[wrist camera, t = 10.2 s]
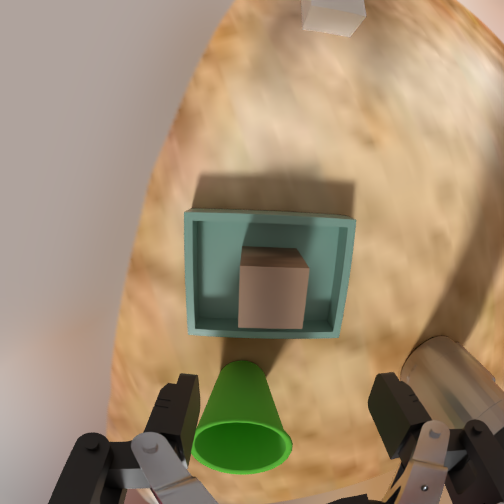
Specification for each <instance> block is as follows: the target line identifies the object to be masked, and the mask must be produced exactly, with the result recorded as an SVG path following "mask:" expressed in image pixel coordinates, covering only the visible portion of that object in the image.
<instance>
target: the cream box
mask: <svg viewBox="0 0 504 504" xmlns="http://www.w3.org/2000/svg"><path fill="white" fill-rule="evenodd" d="M301 14H302V30H309V31H316V32H323V33H329V34H334V35H340V36H345V37H351V36H352V34H353V33H354V32H355V30H356V29H357V28H358V27H359V25H360V24H361V23H362V22H363V20H364V19H365V18H366V10H365V4H364V0H301Z"/></svg>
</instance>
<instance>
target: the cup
mask: <svg viewBox="0 0 504 504" xmlns="http://www.w3.org/2000/svg"><path fill="white" fill-rule="evenodd" d="M292 445H293V443H292V440H291V438H290V436H289V435H288V434H287V433H286V432H285V431H284V429H283V426H282V423H281V421H280V418H279V415H278V412H277V409H276V406H275V404H274V401H273V398H272V395H271V392H270V389H269V386H268V383H267V380H266V377H265V374H264V372H263V371H262V369H261V368H260V367H258V366H257V365H256V364H254V363H252V362H249V361H235V362H231V363H230V364H228V365H226V366H225V367H224V368H223V369H222V370H221V372H220V374H219V376H218V379H217V381H216V383H215V386H214V388H213V391H212V393H211V395H210V398H209V400H208V403H207V405H206V407H205V410H204V412H203V414H202V417H201V419H200V422H199V424H198V426H197V428H196V432H195V436H194V441H193V446H192V451H191V454H192V455H193V456H194V458H195V459H196V460H198V461H199V462H200V463H202V464H203V465H205V466H207V467H209V468H211V469H214V470H217V471H220V472H224V473H230V474H255V473H260V472H265V471H268V470H270V469H273V468H275V467H277V466H279V465H280V464H282V463H283V462H284V461H285V460H286V459H287V458H288V456H289V455H290V453H291V451H292Z"/></svg>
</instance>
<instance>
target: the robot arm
mask: <svg viewBox="0 0 504 504" xmlns="http://www.w3.org/2000/svg"><path fill="white" fill-rule="evenodd" d="M368 408H369V411H370V413H371V416H372V418H373V420H374V422H375V425H376V427H377V429H378V431H379V434H380V436H381V438H382V441H383V443H384V445H385V448H386V450H387V452H388V455H389V457H390V459H395V458H399V457H400V459H401V462H400V463H399V465H398V468H397V470H396V472H395V475H394V477H393V479H392V482H391V484H390V486H389V488H388V491H387V493H386V494H385V496H384V498H383V499H382V501H376V500H368V497H367V494H363V495H358V496H353V497H347V498H341V499H339V500H336V501H333V502H330V503H328V504H439V501H440V497H441V494H442V491H443V487H444V484H445V486H446V488H447V490H448V493H449V496H450V498H451V500H452V503H453V504H504V391H503V390H502V389H501V388H500V387H499V386H498V385H497V384H496V383H495V377H494V376H493V375H492V374H491V373H490V372H489V371H488V370H487V369H486V368H485V367H484V366H483V365H482V364H481V363H480V362H479V361H478V360H477V359H476V358H475V357H473V356H472V355H471V354H470V353H469V352H468V351H467V350H466V349H465V348H464V347H463V346H462V345H461V344H460V343H459V342H456V343H455V342H454V341H452V340H451V339H450V338H449V337H447V336H437V337H434V338H431V339H429V340H428V341H426V342H424V343H423V344H422V345H420V346H419V347H418V348H417V349H416V350H415V351H414V352H413V353H412V354H411V355H410V357H409V358H408V359H407V361H406V363H405V364H404V367H403V369H402V372H401V381H399V379H398V378H397V376H396V375H395V373H394V372H389V373H381V374H378V375H377V376H376V378H375V381H374V384H373V387H372V390H371V393H370V396H369V399H368ZM199 413H200V391H199V380H198V375H193V374H183V373H181V374H180V376H179V378H178V381H177V384H172V383H168V384H167V385H165V386H164V387H163V388H162V389H161V390H160V393H159V395H158V397H157V400H156V402H155V406H154V407H153V410H152V412H151V415H150V417H149V420H148V423H147V425H146V428H145V430H144V432H143V433H141V434H139V435H137V436H136V437H135V438H134V439H133V440H132V441H128V442H109V441H108V439H107V438H106V437H105V436H103V435H101V434H99V433H86V434H84V435H82V436H80V437H79V438H78V439H77V441H76V443H75V445H74V447H73V450H72V451H71V454H70V456H69V458H68V460H67V462H66V464H65V466H64V468H63V471H62V473H61V475H60V477H59V480H58V482H57V484H56V486H55V489H54V491H53V493H52V496H51V498H50V500H49V503H48V504H124V500H125V496H126V492H127V489H131V488H132V489H137V488H150V489H151V491H152V493H153V494H154V496H155V498H156V499H157V501H158V503H159V504H218V503H217V501H216V500H215V499H214V498H213V497H212V496H211V494H210V493H209V492H208V491H207V489H206V488H205V487H204V486H203V484H202V483H201V482H200V481H199V480H198V479H197V478H196V477H193V476H192V475H191V474H190V473H189V472H188V470H187V469H188V465H189V460H190V456H191V451H192V446H193V441H194V436H195V432H196V427H197V422H198V417H199ZM186 468H187V469H186Z"/></svg>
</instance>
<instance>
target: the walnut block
mask: <svg viewBox="0 0 504 504" xmlns="http://www.w3.org/2000/svg"><path fill="white" fill-rule="evenodd" d="M309 269H310V268H309V267H308V265H307V264H306V262H305V260H304V259H303V257H302V256H301V254H300V253H299V251H298V250H297V248H278V247H253V246H242V251H241V261H240V281H239V315H238V328H270V329H302V327H303V320H304V312H305V304H306V296H307V287H308V278H309Z"/></svg>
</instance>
